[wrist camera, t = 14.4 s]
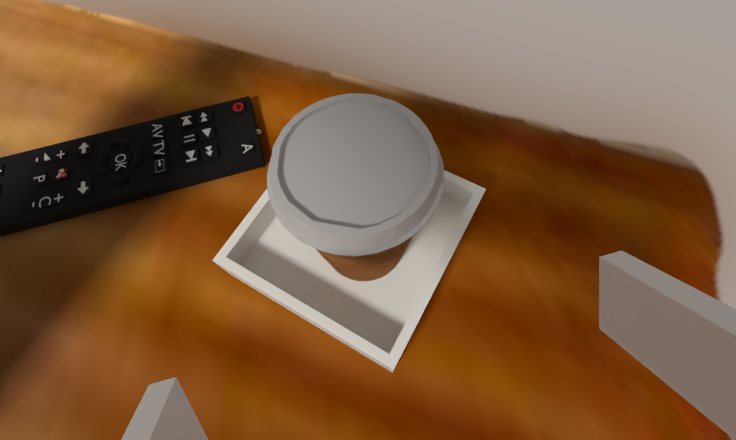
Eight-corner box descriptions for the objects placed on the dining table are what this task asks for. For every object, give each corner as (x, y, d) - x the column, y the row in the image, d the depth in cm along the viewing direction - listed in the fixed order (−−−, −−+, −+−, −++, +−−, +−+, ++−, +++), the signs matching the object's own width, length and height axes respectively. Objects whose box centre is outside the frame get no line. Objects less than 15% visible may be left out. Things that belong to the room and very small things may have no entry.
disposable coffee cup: (279, 249, 30) (221, 168, 20) (359, 170, 33) (347, 60, 22) (370, 330, 28) (361, 288, 17) (449, 236, 30) (485, 148, 19)
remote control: (270, 168, 36) (264, 156, 34) (-98, 266, 33) (-126, 258, 31) (256, 106, 39) (250, 92, 37) (-81, 190, 36) (-106, 180, 34)
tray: (229, 274, 31) (212, 260, 28) (328, 140, 36) (322, 115, 33) (392, 372, 27) (393, 369, 24) (475, 209, 32) (486, 188, 29)
